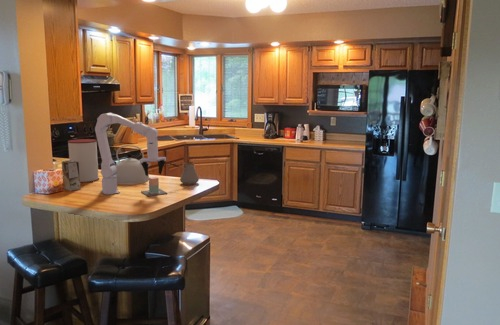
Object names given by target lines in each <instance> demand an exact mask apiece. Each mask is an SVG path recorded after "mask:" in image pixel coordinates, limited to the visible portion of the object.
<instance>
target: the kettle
mask: <svg viewBox="0 0 500 325" xmlns="http://www.w3.org/2000/svg"><path fill="white" fill-rule="evenodd" d="M126 147H132V148H133V147H134V148H136V149H138V150H139V151H141V156H142V157H141V159H145V155H144V154H145V153H144V151H143V150H142V148H141V147H139V146H136V145H132V144H131V145H130V144H125V145H121V146H120V147H118V149H117V151H116V156H115V157H116V159H117V161H118V163H117V164H115V165H116V166H117V169H118V170H117V173H116V177H117V185H136V184H143V183H146V182H149V178H150V177H149V176H150V174H149V173H148V176H146V175H145V171H144V168H143V166H142V165H141V163H140V159H137V158H132V153H128V154H127V158H125V159H122V160H120V159H119V155H118V154H119V152H120V150H121V149H122V148H126ZM147 164H148V168H149V167H150V166H151V165H152V164H151V162H147Z"/></svg>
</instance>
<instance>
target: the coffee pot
mask: <svg viewBox="0 0 500 325" xmlns="http://www.w3.org/2000/svg"><path fill="white" fill-rule="evenodd" d="M168 165H170V166H173V167H177V168H179V169H182V173H181V175H180V178H179V181H180V182H181V183H182V184H183V185H184V186H194V185H196V184H197V183H198V182H199V180H200V178H199V175H198V173H197V171H196V169H195V167H194V165H195V162H190V161H187V162H186V161H185V162H184V163H183V165H184V166H180V165H178V164H176V163H172V162H169V161H168V162H167V163H166V162H165V166H167V167H168Z"/></svg>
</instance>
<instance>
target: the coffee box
mask: <svg viewBox="0 0 500 325" xmlns="http://www.w3.org/2000/svg"><path fill="white" fill-rule="evenodd" d="M61 170H62V183H63V184H62V185H64V186H63V189H64V190H66V191H69V192H73V191H77V190H78V191H79V190H81V183H80V176H79V162H77V161H73V160H69V159H68V160H63V161H61ZM72 190H73V191H72Z"/></svg>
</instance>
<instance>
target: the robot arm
mask: <svg viewBox="0 0 500 325" xmlns="http://www.w3.org/2000/svg"><path fill="white" fill-rule="evenodd" d="M96 120H97V121H96V124H95V127H94V131H95V135H96V140H97V141H96V142H97V146H98V148H99V153H100V154H99V155H100V157H101V164H100V168H101V170H100V175H101V176H102V179H101V187H102V188H101V189H102V190H100V192H101V193H102V194H104V195H105V196H106V195H113V194H114V195H115V194H119V193H120V191H118V184H117V177H116V173H117V170H118V169H117V166H116V165H117V164H116V163H115V160H114V159H113V158H112V153H111V149H110V148H111V147H110V145H109V140H108V135H107V130H108V128H109V127H110V126H112V125H114V124H120V125H122V126H125V127H128V128H130V129H132V131H133V132H134V133H137V134H138V135H141V136H143V137H145V138H146V147H147V149H146V151H147V152H146V153H147V157H146V158H145V157H144V159H142V158H140V159H139V161H140V163H141V165H142V166H143V168H144V171H145V175H146V176H148V174H149V167H148V164H147V163H153V162H155V163H157V165H158V166H157V167H158V175H162V172H163V168H164V166H165V165H166V161H167V157H166V156H159V142H158V136H159V130H158V129H157V128H155V127H151V126H150V125H147V124H144V122H142V121H138V122H133V121H131V120H130V119H127V118H125V117H123V116H121V115H119V114H116V113H113V112H107V113H102V114H100V115H99V116H97V118H96Z"/></svg>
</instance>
